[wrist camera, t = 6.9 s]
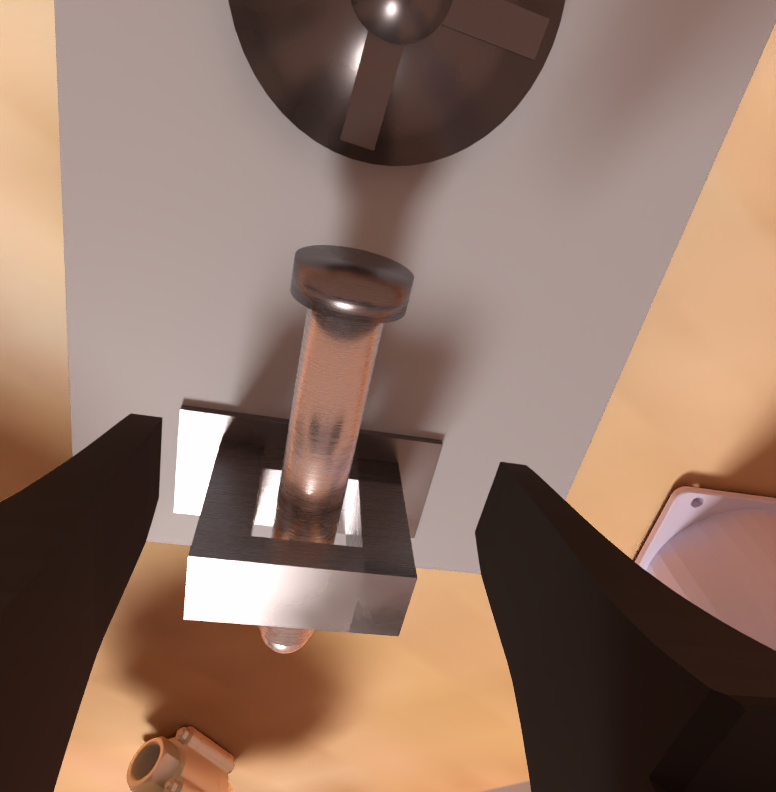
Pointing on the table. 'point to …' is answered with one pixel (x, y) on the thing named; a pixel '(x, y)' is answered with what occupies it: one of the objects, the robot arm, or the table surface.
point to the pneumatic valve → (180, 765)
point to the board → (382, 237)
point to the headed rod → (330, 391)
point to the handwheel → (396, 69)
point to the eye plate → (288, 559)
